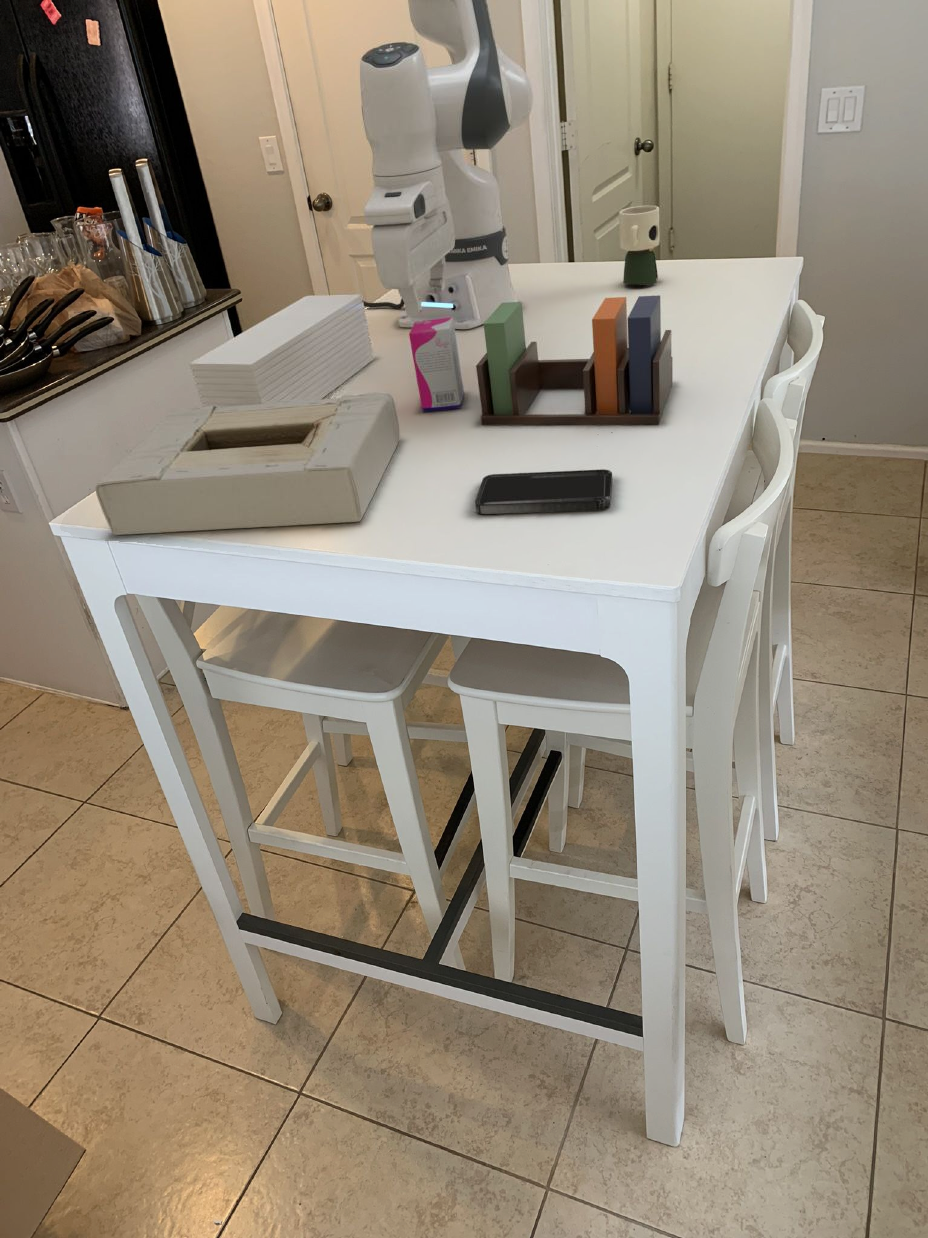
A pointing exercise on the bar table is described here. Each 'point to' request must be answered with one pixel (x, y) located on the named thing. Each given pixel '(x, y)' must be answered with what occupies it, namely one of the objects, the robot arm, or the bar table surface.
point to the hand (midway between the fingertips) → (426, 302)
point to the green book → (504, 351)
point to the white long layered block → (288, 355)
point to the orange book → (609, 351)
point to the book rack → (573, 375)
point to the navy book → (643, 351)
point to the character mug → (639, 243)
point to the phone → (545, 492)
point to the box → (254, 466)
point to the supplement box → (437, 364)
